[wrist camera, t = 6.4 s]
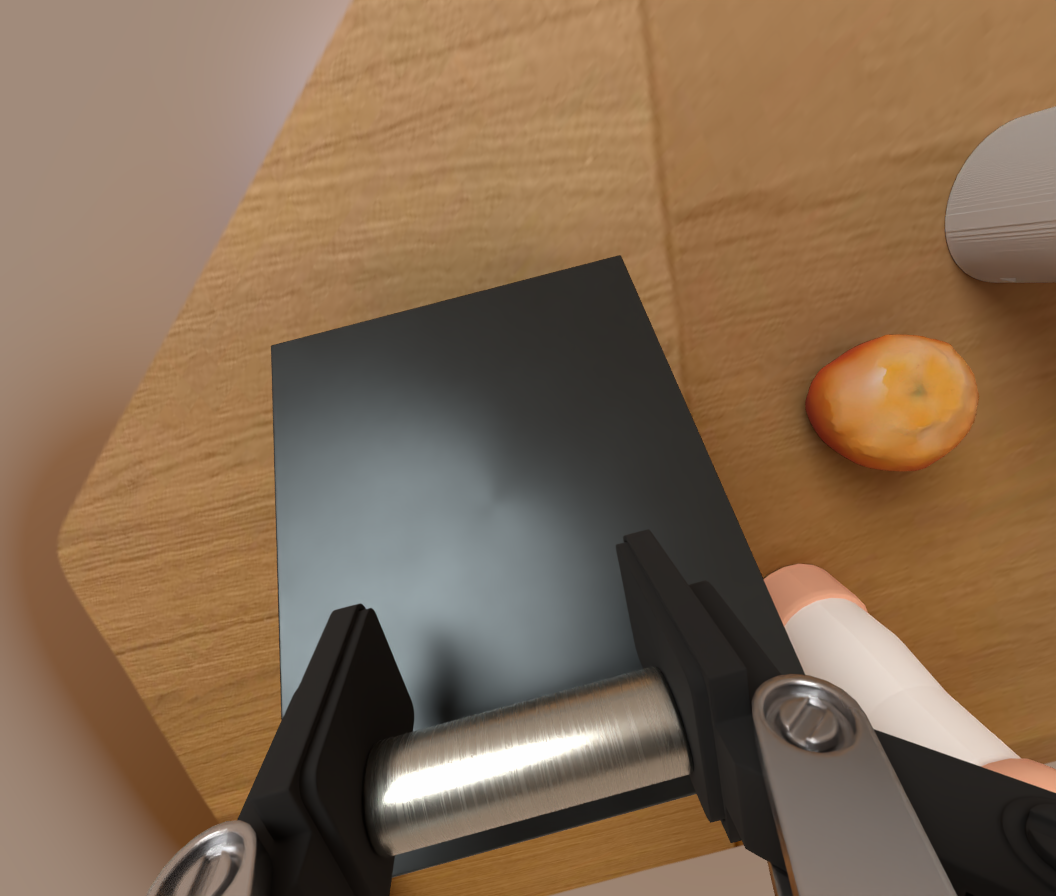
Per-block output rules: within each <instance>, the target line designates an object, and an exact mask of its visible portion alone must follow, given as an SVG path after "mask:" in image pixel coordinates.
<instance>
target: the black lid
mask: <svg viewBox="0 0 1056 896" xmlns="http://www.w3.org/2000/svg"><path fill="white" fill-rule="evenodd" d="M271 362H272V398H273V433H274V469H275V505H276V540H277V576H278V612H279V648H280V683H281V719H283V717H284V714H285V712H286V710H287V708H288V705H289V703H290V701H291V699H292V696H293V695H294V693H295V691H296V690H297V688H298V687H299V685H300V683H301V680H302V678H303V676H304V674H305V671H306V669H307V667H308V665H309V662H310V660H311V658H312V655H313V653H314V651H315V649H316V646H317V644H318V642H319V640H320V637H321V635H322V633H323V631H324V628H325V626H326V624H327V622H328V619H329V617H330V615H331V613H332V612H333V611H334V610H336V609H340V608H344V607H348V606H352V605H356V604H363V605H364V606H365V608H366V609H368V608H373V609H374V611H375V613H376V615H377V617H378V620H379V622H380V625H381V627H382V629H383V632H384V634H385V637H386V639H387V642H388V644H389V647H390V649H391V651H392V654H393V656H394V659H395V661H396V664H397V666H398V669H399V671H400V673H401V676H402V678H403V681H404V683H405V686H406V688H407V691H408V693H409V695H410V698H411V700H412V703H413V707H414V727H413V732H410V733H406V734H402V735H399V736H395V737H391V738H388V739H384V740H380V741H378V742H377V743H375V744H374V745H373V746H372V748H371V749H370V751H369V753H368V756H367V759H366V763H365V768H364V775H363V786H362V802H363V815H364V822H365V827H366V832H367V835H368V839H369V841H370V844H371V846H372V848H373V850H374V851H375V853H376V854H377V855H379V856H380V857H385V858H387V857H390V856H394V855H395V859H394V866H393V873H392V878H393V877H396V876H400V875H404V874H407V873H411V872H415V871H418V870H422V869H426V868H429V867H433V866H436V865H440V864H444V863H447V862H451V861H455V860H458V859H462V858H465V857H469V856H473V855H476V854H480V853H484V852H487V851H491V850H494V849H498V848H502V847H505V846H509V845H513V844H516V843H520V842H524V841H527V840H531V839H534V838H538V837H542V836H545V835H549V834H553V833H556V832H560V831H563V830H567V829H571V828H574V827H578V826H582V825H585V824H589V823H593V822H596V821H600V820H603V819H607V818H611V817H614V816H618V815H622V814H625V813H629V812H632V811H636V810H640V809H643V808H647V807H651V806H654V805H658V804H662V803H665V802H669V801H672V800H676V799H680V798H683V797H687V796H691V795H694V794H697V793H696V791H695V789H694V786H693V784H692V782H691V779H690V777H689V774H690V773H691V772H692V771H693V761H692V755H691V750H690V746H689V742H688V738H687V735H686V732H685V728H684V725H683V722H682V719H681V716H680V713H679V711H678V708H677V705H676V702H675V700H674V697H673V695H672V693H671V690H670V688H669V686H668V684H667V682H666V680H665V678H664V676H663V674H662V673H661V671H660V670H659V669H658V668H657V667H649V668H645V669H643V667H642V665H641V662H640V660H639V657H638V654H637V651H636V647H635V643H634V638H633V633H632V628H631V623H630V618H629V613H628V608H627V603H626V597H625V592H624V587H623V582H622V577H621V572H620V567H619V562H618V557H617V552H616V545H617V544H620V543H624V541H623V536H624V535H628V534H632V533H636V532H639V531H643V530H647V529H649V530H650V531H651V532H652V533H653V535H654V536H655V538H656V539H657V541H658V542H659V543H660V545H661V546H662V548H663V549H664V551H665V552H666V553H667V555H668V556H669V558H670V559H671V561H672V562H673V564H674V565H675V566H676V568H677V569H678V571H679V572H680V574H681V575H682V576H683V578H684V579H685V581H686V582H687V584H688V585H689V584H693V583H697V582H701V581H705V580H706V581H708V582H709V583H710V584H711V585H712V586H713V587H714V588H715V589H716V591H717V592H718V593H719V595H720V596H721V597H722V598H723V600H724V601H725V602H726V604H727V605H728V606H729V607H730V609H731V610H732V611H733V613H734V614H735V615H736V616H737V618H738V619H739V620H740V622H741V623H742V624H743V626H744V627H745V628H746V629H747V631H748V632H749V633H750V635H751V636H752V637H753V638H754V640H755V641H756V642H757V644H758V645H759V646H760V647H761V649H762V650H763V651H764V653H765V654H766V655H767V656H768V658H769V659H770V660H771V662H772V663H773V664H774V666H775V667H776V668H777V669H778V671H779V672H780V673H781V675H787V674H800V675H805V673H804V670H803V668H802V666H801V664H800V661H799V659H798V657H797V654H796V652H795V650H794V648H793V645H792V643H791V641H790V639H789V636H788V634H787V632H786V629H785V627H784V625H783V623H782V620H781V618H780V616H779V614H778V611H777V609H776V607H775V604H774V602H773V600H772V598H771V595H770V593H769V591H768V589H767V586H766V584H765V582H764V580H763V577H762V575H761V573H760V570H759V568H758V566H757V564H756V561H755V559H754V557H753V555H752V552H751V550H750V548H749V545H748V543H747V541H746V539H745V536H744V534H743V532H742V530H741V527H740V525H739V523H738V520H737V518H736V516H735V514H734V511H733V509H732V507H731V505H730V502H729V500H728V498H727V495H726V493H725V491H724V489H723V486H722V484H721V482H720V480H719V477H718V475H717V473H716V471H715V468H714V466H713V464H712V461H711V459H710V457H709V455H708V452H707V450H706V448H705V446H704V443H703V441H702V439H701V436H700V434H699V432H698V430H697V427H696V425H695V423H694V421H693V418H692V416H691V414H690V411H689V409H688V407H687V405H686V402H685V400H684V398H683V396H682V393H681V391H680V389H679V387H678V384H677V382H676V380H675V377H674V375H673V373H672V371H671V368H670V366H669V364H668V362H667V359H666V357H665V355H664V352H663V350H662V348H661V346H660V343H659V341H658V339H657V337H656V334H655V332H654V330H653V327H652V325H651V323H650V321H649V318H648V316H647V314H646V312H645V309H644V307H643V305H642V303H641V300H640V298H639V296H638V293H637V291H636V289H635V287H634V284H633V282H632V280H631V278H630V275H629V273H628V271H627V268H626V266H625V264H624V262H623V259H622V257H621V255H619V256H615V257H611V258H607V259H603V260H599V261H595V262H592V263H588V264H584V265H580V266H576V267H572V268H568V269H565V270H561V271H557V272H553V273H549V274H545V275H541V276H538V277H534V278H530V279H526V280H522V281H518V282H515V283H511V284H507V285H503V286H499V287H495V288H491V289H488V290H484V291H480V292H476V293H472V294H468V295H464V296H461V297H457V298H453V299H449V300H445V301H441V302H437V303H434V304H430V305H426V306H422V307H418V308H414V309H410V310H407V311H403V312H399V313H395V314H391V315H387V316H383V317H380V318H376V319H372V320H368V321H364V322H360V323H357V324H353V325H349V326H345V327H341V328H337V329H333V330H330V331H326V332H322V333H318V334H314V335H310V336H306V337H303V338H299V339H295V340H291V341H287V342H283V343H279V344H276V345H272V346H271Z"/></svg>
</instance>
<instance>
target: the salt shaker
mask: <svg viewBox="0 0 1056 896" xmlns="http://www.w3.org/2000/svg"><path fill="white" fill-rule="evenodd" d="M764 582H765V584H766V586H767V589H768V591H769V593H770V595H771V598H772V600H773V602H774V604H775V607H776V609H777V611H778V614H779V616H780V618H781V620H782V623H783V625H784V627H785V629H786V632H787V634H788V636H789V639H790V641H791V643H792V645H793V648H794V650H795V652H796V654H797V657H798V659H799V661H800V664H801V666H802V668H803V670H804V673H805V675H810V676H813V677H816V678H820V679H823V680H826V681H828V682H830V683H832V684H834V685H836V686H838V687H839V688H841V689H843V690H844V691H845V692H846V693H848V694H849V695H850V696H851V697H852V698H854V699H855V700H856V701H857V702H858V704H859V705H860V707H861V708H862V710H863V711H864V712H865V714H866V715H867V717H868V719H869V721H870V723H871V725H872V727H873V729H875V730H878V731H881V732H884V733H887V734H889V735H892V736H895V737H898V738H901V739H904V740H907V741H909V742H912V743H915V744H918V745H921V746H924V747H926V748H929V749H932V750H935V751H938V752H941V753H944V754H946V755H949V756H952V757H955V758H958V759H961V760H963V761H966V762H969V763H972V764H975V765H978V766H981V767H983V768H986V769H989V770H992V771H995V772H998V773H1000V774H1003V775H1006V776H1009V777H1012V778H1015V779H1018V780H1020V781H1023V782H1026V783H1029V784H1032V785H1035V786H1037V787H1040V788H1043V789H1046V790H1049V791H1052V792H1055V793H1056V769H1054V768H1051V767H1048V766H1046V765H1044V764H1041V763H1038V762H1036V761H1033V760H1030V759H1021V758H1020V757H1019V756H1018V755H1017V754H1016V753H1014V752H1013V751H1012V750H1011V749H1010V748H1009V747H1008V746H1007V745H1005V744H1004V743H1003V742H1002V741H1001V740H1000V739H999V738H997V737H996V736H995V735H994V734H993V733H992V732H991V731H990V730H988V729H987V728H986V727H985V726H984V725H983V724H982V723H981V722H979V721H978V720H977V719H976V718H975V717H974V716H973V715H971V714H970V713H969V712H968V711H967V710H966V709H965V708H964V707H962V706H961V705H960V704H959V703H958V702H957V701H956V700H955V699H953V698H952V697H951V696H950V695H949V694H948V693H947V692H946V691H945V690H944V689H943V688H942V687H941V685H940V684H939V683H938V682H937V681H936V680H935V679H934V677H933V676H932V675H931V674H930V673H929V672H928V671H927V669H926V668H925V667H924V666H923V665H922V664H921V663H920V662H919V660H918V659H917V658H916V657H915V656H914V655H913V654H912V652H911V651H910V650H909V649H908V648H907V647H906V646H905V644H904V643H903V642H902V641H901V640H900V639H899V638H898V637H897V636H896V635H895V634H893V633H892V632H891V631H890V630H888V629H887V628H886V627H884V626H883V625H882V624H881V623H879V622H878V621H877V620H876V619H874V618H873V617H872V616H871V615H869V614H868V612H867V609H866V607H865V605H864V604H863V603H862V602H861V601H860V600H859V598H858V597H857V596H855V595H854V594H853V593H852V592H851V591H849V590H848V589H847V588H846V587H845V586H843V585H842V584H841V583H840V582H839V581H837V580H836V579H835V578H834V577H832V576H831V575H830V574H829V573H828V572H826V571H825V570H824V569H821V568H819V567H817V566H814V565H808V564H796V565H791V566H786V567H783V568H781V569H779V570H777V571H775V572H773V573H771V574H769V575H768V576H767V577H766V578H765V579H764Z"/></svg>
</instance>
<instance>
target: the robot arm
mask: <svg viewBox="0 0 1056 896" xmlns="http://www.w3.org/2000/svg"><path fill="white" fill-rule="evenodd" d="M623 541H624V543H620V544H617V545H616V552H617V557H618V562H619V567H620V572H621V577H622V582H623V587H624V592H625V597H626V603H627V608H628V613H629V618H630V623H631V628H632V633H633V638H634V643H635V647H636V651H637V654H638V657H639V660H640V662H641V665H642V667H643V669H645V668H649V667H657V668H658V669H659V670H660V671H661V673H662V674H663V676H664V678H665V680H666V682H667V684H668V686H669V688H670V690H671V693H672V695H673V697H674V700H675V702H676V705H677V708H678V711H679V713H680V716H681V719H682V722H683V725H684V728H685V732H686V735H687V738H688V742H689V746H690V750H691V755H692V761H693V771H692V772H691V773H690V774H689V777H690V779H691V782H692V784H693V786H694V789H695V791H696V793H697V796H698V798H699V800H700V803H701V805H702V807H703V810H704V812H705V814H706V816H707V818H708V820H709V821H710V823H711V822H715V821H719V820H721V822H722V825H723V827H724V829H725V831H726V833H727V836H728V838H729V840H730V842H731V843H733V842H737V841H741V840H742V842H743V844H744V846H745V848H746V849H747V850H749V851H751V852H752V853H754V854H756V855H758V856H760V857H762V858H763V859H765V860H767V861H768V866H769V871H770V875H771V880H772V884H773V889H774V893H775V896H1056V793H1055V792H1052V791H1049V790H1046V789H1043V788H1040V787H1037V786H1035V785H1032V784H1029V783H1026V782H1023V781H1020V780H1018V779H1015V778H1012V777H1009V776H1006V775H1003V774H1000V773H998V772H995V771H992V770H989V769H986V768H983V767H981V766H978V765H975V764H972V763H969V762H966V761H963V760H961V759H958V758H955V757H952V756H949V755H946V754H944V753H941V752H938V751H935V750H932V749H929V748H926V747H924V746H921V745H918V744H915V743H912V742H909V741H907V740H904V739H901V738H898V737H895V736H892V735H889V734H887V733H884V732H881V731H878V730H875V729H873V727H872V725H871V723H870V721H869V719H868V717H867V715H866V714H865V712H864V711H863V710H862V708H861V707H860V705H859V704H858V702H857V701H856V700H855V699H854V698H852V697H851V696H850V695H849V694H848V693H846V692H845V691H844V690H843V689H841V688H839V687H838V686H836V685H834V684H832V683H830V682H828V681H826V680H823V679H820V678H816V677H813V676H810V675H800V674H787V675H781V673H780V672H779V671H778V669H777V668H776V667H775V666H774V664H773V663H772V662H771V660H770V659H769V658H768V656H767V655H766V654H765V653H764V651H763V650H762V649H761V647H760V646H759V645H758V644H757V642H756V641H755V640H754V638H753V637H752V636H751V635H750V633H749V632H748V631H747V629H746V628H745V627H744V626H743V624H742V623H741V622H740V620H739V619H738V618H737V616H736V615H735V614H734V613H733V611H732V610H731V609H730V607H729V606H728V605H727V604H726V602H725V601H724V600H723V598H722V597H721V596H720V595H719V593H718V592H717V591H716V589H715V588H714V587H713V586H712V585H711V584H710V583H709V582H708V581H706V580H705V581H701V582H697V583H693V584H689V585H688V584H687V582H686V581H685V579H684V578H683V576H682V575H681V574H680V572H679V571H678V569H677V568H676V566H675V565H674V564H673V562H672V561H671V559H670V558H669V556H668V555H667V553H666V552H665V551H664V549H663V548H662V546H661V545H660V543H659V542H658V541H657V539H656V538H655V536H654V535H653V533H652V532H651V531H650V530H649V529H647V530H643V531H639V532H636V533H632V534H628V535H624V536H623ZM413 727H414V707H413V703H412V700H411V698H410V695H409V693H408V691H407V688H406V686H405V683H404V681H403V678H402V676H401V673H400V671H399V669H398V666H397V664H396V661H395V659H394V656H393V654H392V651H391V649H390V647H389V644H388V642H387V639H386V637H385V634H384V632H383V629H382V627H381V625H380V622H379V620H378V617H377V615H376V613H375V611H374V609H373V608H368V609H366V608H365V606H364V605H363V604H356V605H352V606H348V607H344V608H340V609H336V610H334V611H333V612H332V613H331V615H330V617H329V619H328V622H327V624H326V626H325V628H324V631H323V633H322V635H321V637H320V640H319V642H318V644H317V646H316V649H315V651H314V653H313V655H312V658H311V660H310V662H309V665H308V667H307V669H306V671H305V674H304V676H303V678H302V680H301V683H300V685H299V687H298V688H297V690H296V691H295V693H294V695H293V696H292V699H291V701H290V703H289V705H288V708H287V710H286V712H285V714H284V717H283V719H282V721H281V723H280V726H279V728H278V730H277V732H276V735H275V737H274V739H273V741H272V743H271V746H270V748H269V750H268V752H267V755H266V757H265V759H264V761H263V764H262V766H261V768H260V770H259V773H258V775H257V777H256V779H255V782H254V784H253V786H252V788H251V791H250V793H249V795H248V797H247V799H246V802H245V804H244V806H243V808H242V811H241V813H240V815H239V817H238V820H236V821H226V822H224V823H221V824H218V825H216V826H213V827H211V828H209V829H208V830H206V831H204V832H203V833H201V834H200V835H198V836H196V837H195V838H194V839H192V840H191V841H190V842H189V843H188V844H187V845H185V846H184V847H183V848H182V849H181V850H180V851H178V852H177V853H176V854H175V856H174V857H173V858H172V859H171V860H170V861H169V862H168V864H167V865H166V866H165V867H164V868H163V869H162V870H161V872H160V873H159V875H158V876H157V878H156V879H155V881H154V882H153V884H152V885H151V887H150V888H149V890H148V893H147V895H146V896H389V894H390V887H391V880H392V873H393V866H394V859H395V855H394V856H390V857H387V858H385V857H380V856H379V855H377V854H376V853H375V851H374V850H373V848H372V846H371V844H370V841H369V839H368V835H367V832H366V827H365V822H364V815H363V802H362V786H363V775H364V768H365V763H366V759H367V756H368V753H369V751H370V749H371V748H372V746H373V745H374V744H375V743H377V742H378V741H380V740H384V739H388V738H391V737H395V736H399V735H402V734H406V733H410V732H413Z"/></svg>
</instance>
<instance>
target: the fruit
mask: <svg viewBox="0 0 1056 896" xmlns="http://www.w3.org/2000/svg"><path fill="white" fill-rule="evenodd" d="M978 400H979V393H978V391H977V384H976V382H975V377H974V374H973V373H972V371H971V369H970V367H969V366H968V365H967V364H966V362H965V361H964V359H963V358H962V357H961V356H960V355H959V354H958V353H957V352H956V351H955V350H954V348H953V347H952V345H950V344H948V343H946V342H943V341H939V340H936V339H929V338H926V337H923V336H915V335H890V334H889V335H884V336H882V337H879V338H876V339H873V340H870V341H867V342H865V343H862V344H860V345H858V346H856V347H854V348H852V349H850V350H848V351H847V352H845V353H844V354H842V355H841V356H839V357H838V358H837V359H835V360H834V361H832V362H831V363H829V364H828V365H826V366H825V367H824V368H822V369H821V370H820V371H819V372H818V374H817V375H816V376H815V378H814V379H813V381H812V383H811V385H810V388H809V392H808V395H807V398H806V402H805V406H806V412H807V415H808V418H809V420H810V423H811V425H812V426H813V428H814V430H815V431H816V433H817V434H818V436H819V437H820V438H821V439H822V441H823V442H824V443H825V444H827V445H828V446H829V447H831V448H832V449H833V450H835V451H836V452H838V453H839V454H841V455H842V456H844V457H846V458H847V459H849V460H851V461H853V462H854V463H856V464H859V465H861V466H865V467H868V468H873V469H879V470H888V471H916V470H920V469H923V468H926V467H927V466H929V465H931V464H932V463H934V462H936V461H937V460H939V459H940V458H942V457H944V456H945V455H946V454H947V453H949V452H950V451H951V450H952V449H954V448H955V447H956V446H957V445H958V444H959V443H960V442H961V440H962V439H963V438H964V437H965V436H966V435H967V433H968V432H969V431H970V428H971V425H972V424H973V423H974V421H975V416H976V411H977V405H978Z"/></svg>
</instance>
